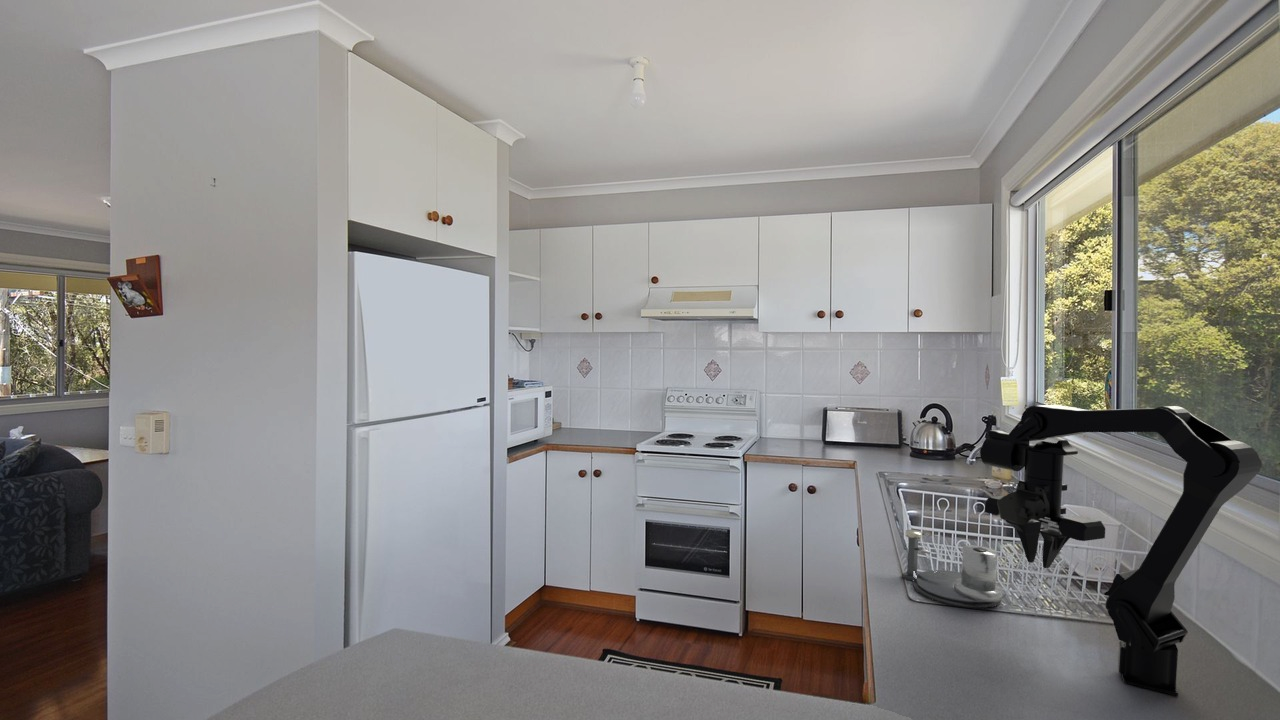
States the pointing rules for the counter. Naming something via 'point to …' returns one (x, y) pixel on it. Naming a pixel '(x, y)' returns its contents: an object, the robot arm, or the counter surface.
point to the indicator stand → (913, 553)
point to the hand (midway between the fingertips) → (1038, 565)
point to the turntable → (945, 589)
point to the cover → (979, 575)
